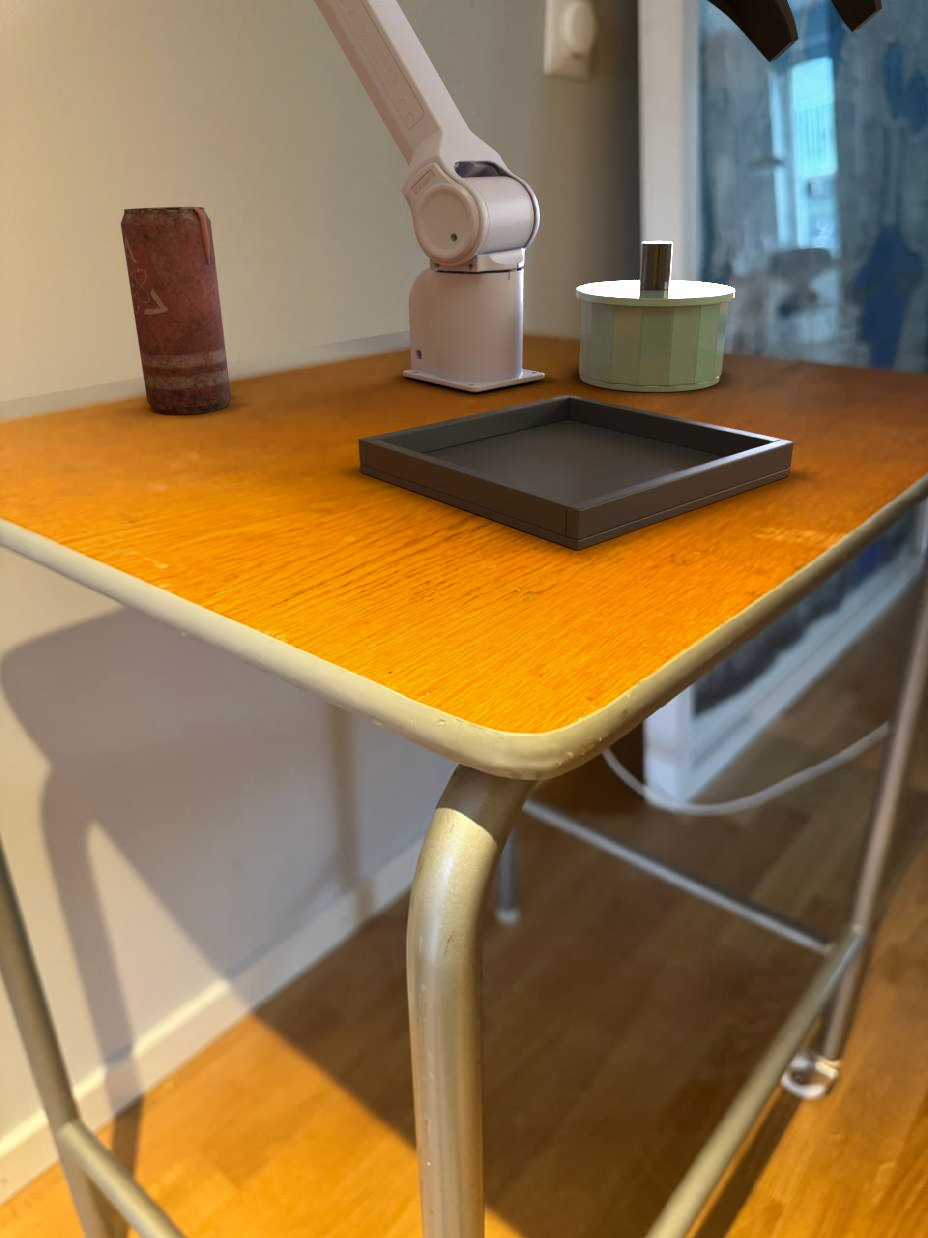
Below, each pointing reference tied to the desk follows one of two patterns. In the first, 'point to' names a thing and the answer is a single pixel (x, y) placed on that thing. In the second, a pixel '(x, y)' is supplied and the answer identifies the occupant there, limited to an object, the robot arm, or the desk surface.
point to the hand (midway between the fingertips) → (826, 35)
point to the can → (176, 308)
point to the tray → (575, 466)
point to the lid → (655, 285)
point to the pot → (652, 346)
